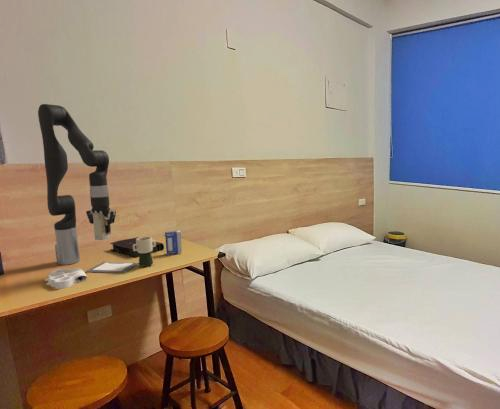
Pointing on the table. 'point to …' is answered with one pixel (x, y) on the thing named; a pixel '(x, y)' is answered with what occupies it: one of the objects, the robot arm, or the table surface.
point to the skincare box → (100, 227)
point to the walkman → (173, 242)
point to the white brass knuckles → (65, 277)
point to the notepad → (112, 267)
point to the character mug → (144, 250)
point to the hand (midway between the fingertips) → (102, 232)
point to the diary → (127, 247)
